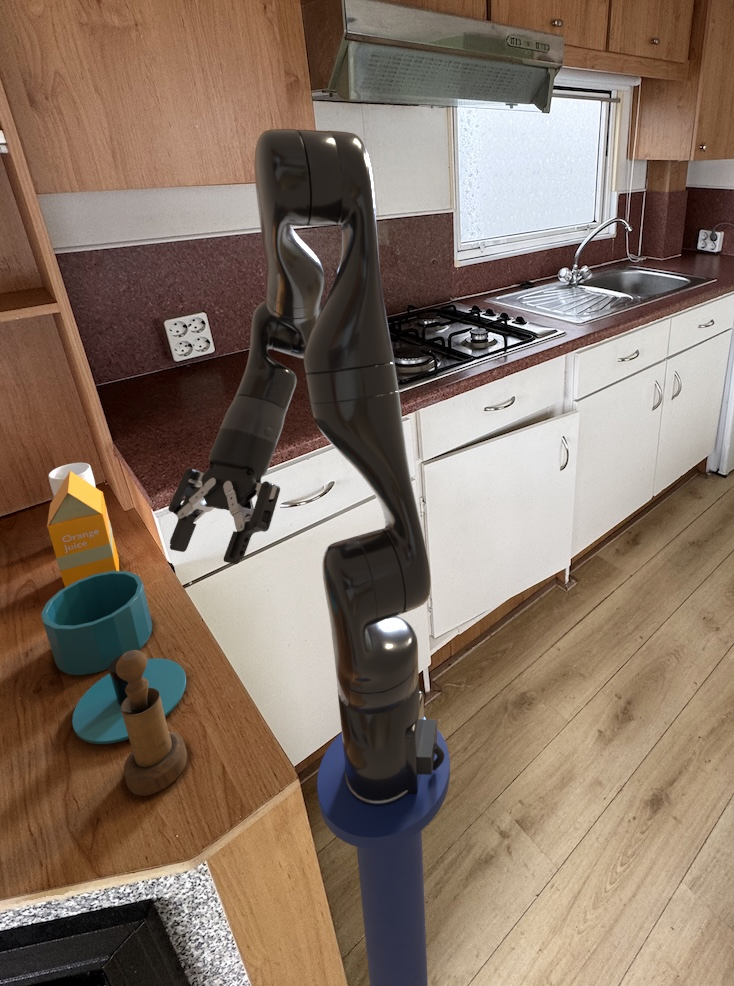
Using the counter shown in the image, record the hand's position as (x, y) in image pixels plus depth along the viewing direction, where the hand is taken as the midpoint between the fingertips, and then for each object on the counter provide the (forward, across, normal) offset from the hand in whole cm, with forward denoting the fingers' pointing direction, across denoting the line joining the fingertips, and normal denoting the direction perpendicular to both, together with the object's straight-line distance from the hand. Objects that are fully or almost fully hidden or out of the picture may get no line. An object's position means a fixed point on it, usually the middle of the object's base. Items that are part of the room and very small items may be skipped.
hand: (203, 556), depth 73 cm
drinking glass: (+2, +55, -30) cm, 63 cm away
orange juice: (+8, +42, -24) cm, 49 cm away
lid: (+20, +13, -12) cm, 27 cm away
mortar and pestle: (+25, +2, -8) cm, 26 cm away
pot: (+16, +26, -17) cm, 35 cm away
